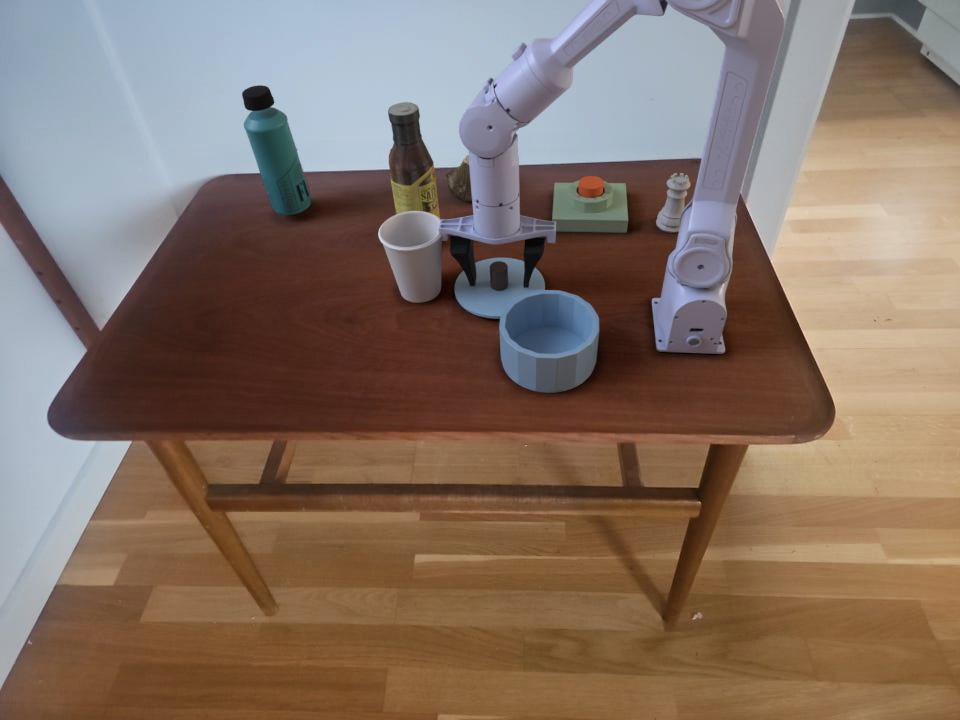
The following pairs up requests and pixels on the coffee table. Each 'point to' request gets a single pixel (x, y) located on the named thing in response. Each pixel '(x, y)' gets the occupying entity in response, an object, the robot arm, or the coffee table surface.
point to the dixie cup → (414, 253)
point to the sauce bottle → (411, 163)
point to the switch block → (590, 209)
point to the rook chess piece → (673, 203)
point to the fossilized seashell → (460, 181)
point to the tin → (549, 340)
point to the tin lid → (495, 286)
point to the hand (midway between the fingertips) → (499, 282)
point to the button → (590, 187)
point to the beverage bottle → (275, 152)
